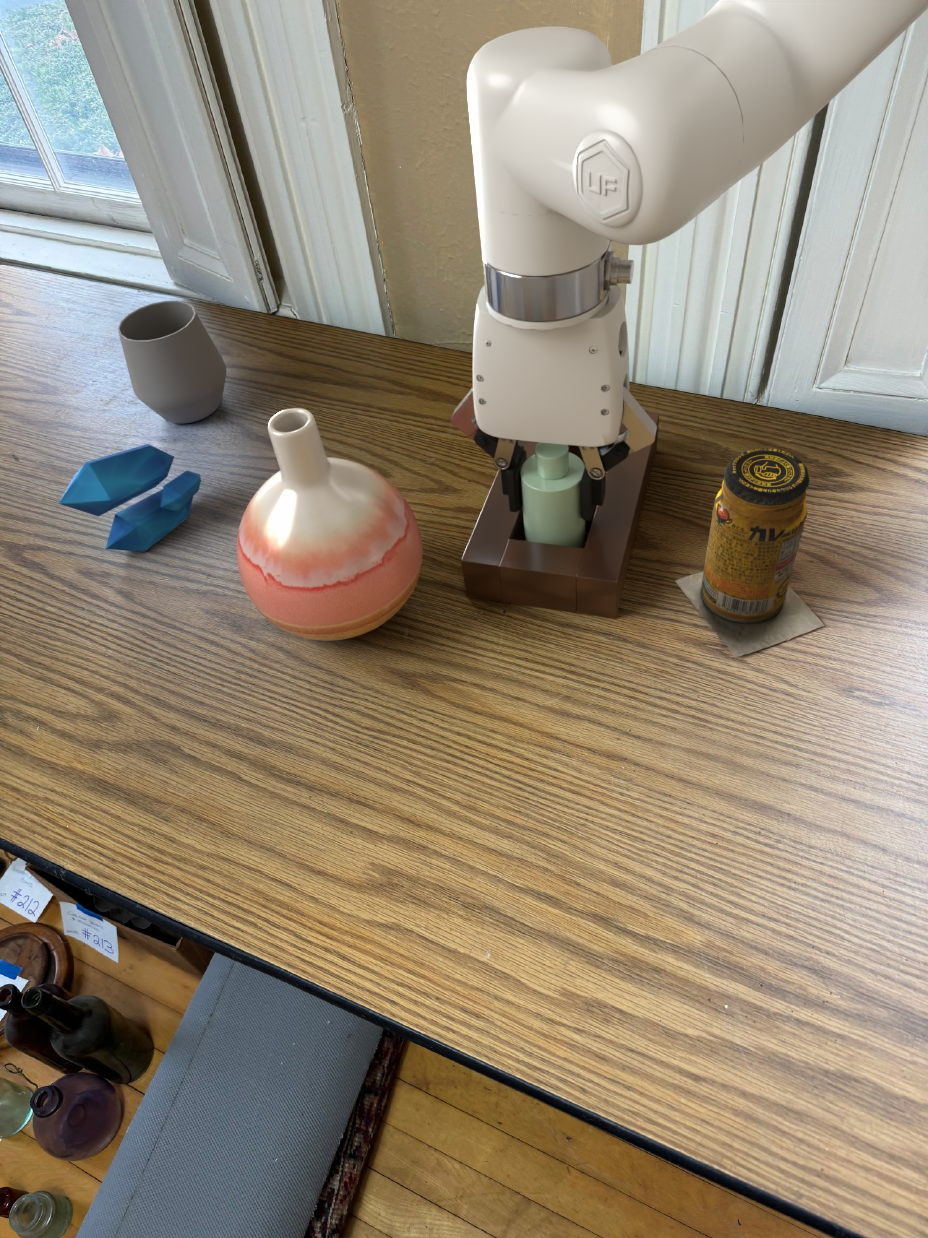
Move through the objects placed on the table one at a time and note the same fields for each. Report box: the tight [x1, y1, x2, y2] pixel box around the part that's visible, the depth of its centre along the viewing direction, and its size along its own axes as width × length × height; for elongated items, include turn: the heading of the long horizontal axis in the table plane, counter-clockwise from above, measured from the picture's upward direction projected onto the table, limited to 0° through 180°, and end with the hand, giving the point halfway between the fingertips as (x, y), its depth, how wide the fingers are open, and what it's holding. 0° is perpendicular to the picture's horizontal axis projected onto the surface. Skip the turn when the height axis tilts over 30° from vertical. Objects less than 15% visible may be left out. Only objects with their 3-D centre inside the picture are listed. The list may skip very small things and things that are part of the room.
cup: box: [117, 300, 227, 424], centre depth 86 cm, size 10×9×10 cm
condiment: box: [675, 447, 825, 658], centre depth 59 cm, size 7×8×12 cm
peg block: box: [460, 411, 660, 619], centre depth 70 cm, size 12×21×4 cm, turn 163°
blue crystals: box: [58, 443, 202, 553], centre depth 74 cm, size 7×9×12 cm
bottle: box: [520, 442, 587, 548], centre depth 65 cm, size 5×5×10 cm
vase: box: [235, 407, 424, 642], centre depth 61 cm, size 14×14×18 cm
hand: (553, 502), depth 65 cm, fingers closed on bottle, 4 cm apart
